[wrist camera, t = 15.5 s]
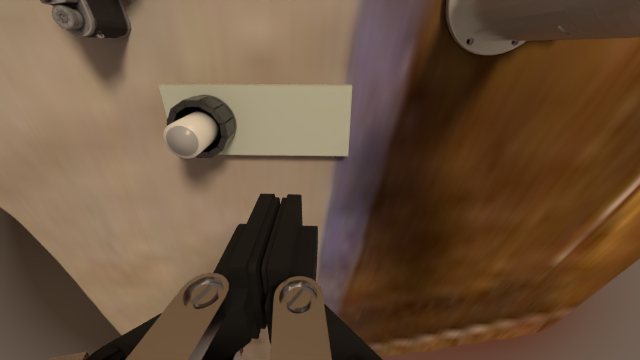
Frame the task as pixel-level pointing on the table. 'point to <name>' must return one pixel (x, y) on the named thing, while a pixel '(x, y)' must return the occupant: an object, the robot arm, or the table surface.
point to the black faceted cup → (219, 113)
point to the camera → (92, 17)
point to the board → (278, 116)
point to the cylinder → (191, 134)
